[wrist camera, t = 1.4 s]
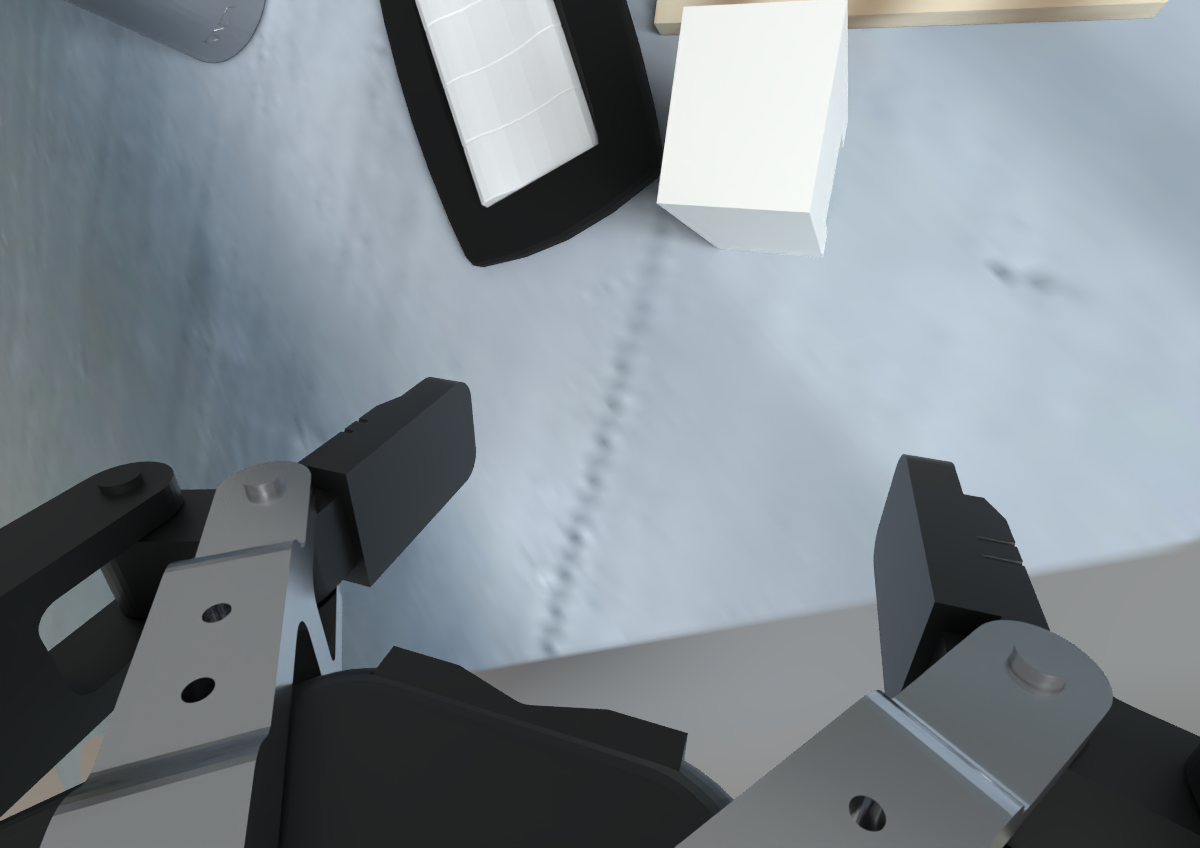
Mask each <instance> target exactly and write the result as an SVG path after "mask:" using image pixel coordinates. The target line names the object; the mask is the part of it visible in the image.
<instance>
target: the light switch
mask: <svg viewBox="0 0 1200 848" xmlns="http://www.w3.org/2000/svg"><path fill="white" fill-rule="evenodd" d="M380 3H381V8H382V13H383V18H384V22H385V26H386V30H387V34H388V38H389V42H390V46H391V50H392V54H393V58H394V61H395V65H396V69H397V73H398V77H399V80H400V84H401V87H402V90H403V94H404V97H405V100H406V104H407V107H408V110H409V113H410V117H411V120H412V123H413V126H414V129H415V132H416V135H417V138H418V141H419V143H420V146H421V149H422V152H423V155H424V158H425V160H426V163H427V166H428V169H429V172H430V174H431V177H432V179H433V181H434V184H435V186H436V189H437V191H438V194H439V196H440V199H441V201H442V204H443V206H444V209H445V211H446V214H447V216H448V219H449V221H450V223H451V225H452V228H453V230H454V232H455V234H456V236H457V238H458V241H459V243H460V245H461V247H462V249H463V251H464V254H465V256H466V257H467V258H468V260H469V261H470V262H471V263H472V264H473V265H474V266H480V267H486V266H490V265H495V264H499V263H503V262H507V261H512V260H516V259H520V258H524V257H527V256H530V255H532V254H535V253H537V252H540V251H542V250H544V249H547V248H549V247H552V246H554V245H557V244H559V243H562V242H564V241H566V240H569V239H570V238H572V237H574V236H575V235H577V234H579V233H580V232H582V231H583V230H585V229H587V228H588V227H590V226H592V225H593V224H595V223H597V222H598V221H600V220H602V219H603V218H605V217H607V216H608V215H610V214H612V213H613V212H614V211H616V210H617V209H618V208H619V207H621V206H622V205H623V204H625V203H626V202H627V201H628V200H630V199H631V198H632V197H634V196H635V195H636V194H637V193H639V192H640V191H641V190H643V189H644V188H645V187H646V186H648V185H649V184H650V183H652V182H653V181H654V180H655V179H657V178H658V177H659V175H660V174H661V168H662V160H663V150H662V144H661V139H660V133H659V128H658V123H657V117H656V112H655V107H654V103H653V99H652V94H651V90H650V86H649V82H648V78H647V74H646V70H645V66H644V62H643V57H642V53H641V49H640V45H639V42H638V38H637V35H636V32H635V28H634V25H633V21H632V18H631V15H630V11H629V8H628V5H627V1H626V0H380Z"/></svg>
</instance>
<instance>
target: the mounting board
mask: <svg viewBox="0 0 1200 848" xmlns="http://www.w3.org/2000/svg"><path fill="white" fill-rule="evenodd" d="M788 1H808V0H657V5H656V12H655V20H654V24H655V26H656V28H657V29H658V31H659V33H660V34H661V35H675V34H680V29H681V22H682V14H683V7H688V6H708V5H728V4H748V3H768V2H788ZM1167 1H1168V0H848V29H849V28H878V27H907V26H936V25H965V24H994V23H1023V22H1052V21H1081V20H1110V19H1139V18H1153V17H1154V16H1155V15H1156V14H1157V13H1158V12H1159V11H1160V10H1161V9H1162V7H1163V6H1164V5H1165V4H1166V3H1167Z"/></svg>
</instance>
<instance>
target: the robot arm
mask: <svg viewBox="0 0 1200 848" xmlns="http://www.w3.org/2000/svg"><path fill="white" fill-rule="evenodd" d="M65 1H67V2H69V3H71V4H74V5H76V6H78V7H80V8H83V9H85V10H87V11H90V12H92V13H94V14H96V15H99V16H101V17H103V18H105V19H108V20H110V21H112V22H115V23H117V24H119V25H121V26H124V27H126V28H128V29H131V30H133V31H135V32H137V33H139V34H141V35H144V36H146V37H148V38H151V39H153V40H155V41H158V42H160V43H162V44H165V45H167V46H169V47H172V48H174V49H176V50H178V51H181V52H183V53H185V54H188V55H190V56H192V57H195V58H197V59H199V60H202V61H204V62H212V63H216V62H221V61H225V60H227V59H229V58H231V57H232V56H234V55H236V54H237V53H238V52H239V51H240V50H241V49H242V48H243V47H244V46H245V45H246V43H247V42H248V41H249V39H250V38H251V36H252V35H253V33H254V31H255V29H256V27H257V25H258V23H259V20H260V17H261V14H262V10H263V7H264V2H265V0H65ZM475 458H476V446H475V436H474V425H473V414H472V403H471V394H470V390H469V388H468V386H467V385H466V384H465V383H463V382H457V381H451V380H445V379H439V378H433V377H428V378H426V379H424V380H423V381H421V382H420V383H418V384H417V385H416V386H414V387H413V388H412V389H410V390H409V391H408V392H406V393H405V394H404V395H402V396H401V397H398V398H395V399H393V400H390V401H388V402H385V403H383V404H380V405H378V406H376V407H375V408H373V409H372V410H370V411H369V412H368V413H366V414H365V415H363V416H362V417H361V418H359V422H358V421H355V422H354V423H352V424H351V425H350V426H348V427H347V428H345V431H344V432H340V433H338V434H337V435H336V436H334V437H333V438H331V439H330V440H329V441H327V442H326V443H325V444H323V445H322V446H320V447H319V448H318V449H316V450H315V451H313V452H312V453H311V454H309V455H308V456H306V457H305V458H304V459H302V460H301V461H300V462H298V463H296V462H291V461H274V462H266V463H261V464H257V465H254V466H251V467H248V468H245V469H243V470H240V471H238V472H236V473H235V474H233V475H231V476H230V477H228V478H227V479H225V480H224V481H223V482H222V483H221V484H220V485H219V487H218V488H217V489H207V490H180V488H179V485H178V482H177V480H176V477H175V474H174V472H173V470H172V468H171V467H170V466H168V465H166V464H164V463H160V462H136V463H129V464H125V465H120V466H117V467H113V468H110V469H108V470H105V471H102V472H100V473H98V474H95V475H93V476H91V477H89V478H88V479H86V480H84V481H82V482H81V483H79V484H77V485H75V486H74V487H72V488H70V489H68V490H67V491H65V492H63V493H62V494H60V495H58V496H56V497H55V498H53V499H51V500H49V501H48V502H46V503H44V504H42V505H41V506H39V507H37V508H35V509H34V510H32V511H30V512H28V513H27V514H25V515H23V516H22V517H20V518H18V519H16V520H15V521H13V522H11V523H9V524H8V525H6V526H4V527H2V528H1V529H0V817H1V816H2V815H3V814H4V813H5V812H6V811H7V810H8V809H10V808H11V807H12V806H13V805H14V804H15V803H16V802H17V801H18V800H19V799H20V798H21V797H22V796H23V795H24V794H25V793H26V792H28V790H30V789H31V788H32V787H33V786H34V785H35V784H36V783H37V782H38V781H39V780H40V779H41V778H42V777H43V776H44V775H45V774H46V773H48V772H49V771H50V770H51V769H52V768H53V767H54V766H55V765H56V764H57V763H58V762H59V761H60V760H61V759H63V758H64V757H65V756H66V755H67V754H68V753H69V752H70V751H71V750H72V749H73V748H74V747H75V746H76V745H77V744H78V743H79V742H81V741H82V740H83V739H84V738H85V737H86V736H87V735H88V734H89V733H90V732H91V731H92V730H93V729H94V728H95V727H96V726H97V725H99V724H100V723H101V722H102V721H103V720H104V719H105V718H106V717H107V716H108V715H109V714H110V713H111V712H112V711H113V710H114V711H113V714H112V716H111V719H110V722H109V725H108V727H107V730H106V733H105V736H104V738H103V741H102V744H101V747H100V749H99V752H98V755H97V757H96V760H95V763H94V766H93V768H92V771H91V773H90V775H89V777H88V779H87V780H86V781H85V782H84V783H81V784H79V785H77V786H75V787H73V788H71V789H68V790H66V791H64V792H62V793H60V794H58V795H56V796H54V797H51V798H49V799H47V800H45V801H43V802H40V803H38V804H36V805H34V806H32V807H30V808H28V809H26V810H23V811H21V812H19V813H17V814H15V815H13V816H10V817H8V818H6V819H4V820H2V821H0V848H1200V737H1199V736H1197V735H1195V734H1193V733H1191V732H1188V731H1186V730H1184V729H1182V728H1179V727H1177V726H1175V725H1173V724H1170V723H1168V722H1166V721H1164V720H1161V719H1159V718H1157V717H1154V716H1152V715H1150V714H1148V713H1145V712H1143V711H1141V710H1139V709H1137V708H1134V707H1132V706H1130V705H1128V704H1126V703H1124V702H1122V701H1120V700H1118V699H1116V698H1115V697H1113V693H1112V688H1111V686H1110V683H1109V681H1108V679H1107V677H1106V676H1105V674H1104V672H1103V671H1102V670H1101V669H1100V667H1099V666H1098V665H1097V664H1096V663H1095V662H1094V661H1093V660H1092V659H1091V658H1090V657H1089V656H1088V655H1087V654H1086V653H1085V652H1083V651H1082V650H1081V649H1079V648H1078V647H1077V646H1075V645H1074V644H1072V643H1071V642H1069V641H1068V640H1066V639H1064V638H1062V637H1060V636H1059V635H1057V634H1055V633H1053V632H1051V631H1050V629H1049V627H1048V624H1047V622H1046V619H1045V617H1044V614H1043V612H1042V609H1041V607H1040V604H1039V601H1038V599H1037V596H1036V594H1035V591H1034V589H1033V586H1032V584H1031V581H1030V579H1029V576H1028V574H1027V571H1026V569H1025V566H1022V562H1023V561H1022V559H1021V556H1020V553H1019V551H1018V548H1017V547H1015V541H1014V538H1013V536H1012V533H1011V531H1010V528H1009V526H1008V523H1007V521H1006V519H1005V518H1004V517H1003V516H1002V515H1001V514H1000V513H999V512H998V511H997V510H996V509H995V508H994V507H993V506H992V505H990V504H989V503H988V502H987V501H986V500H985V499H984V498H981V497H975V496H970V495H964V494H963V492H962V489H961V485H960V482H959V479H958V476H957V473H956V470H955V467H954V464H953V463H952V462H948V461H942V460H936V459H930V458H924V457H918V456H911V455H905V454H903V455H902V456H901V457H900V459H899V461H898V464H897V467H896V470H895V473H894V476H893V480H892V483H891V487H890V490H889V493H888V497H887V500H886V503H885V507H884V510H883V514H882V517H881V520H880V524H879V527H878V531H877V535H876V541H875V548H874V574H875V586H876V597H877V609H878V620H879V631H880V643H881V654H882V665H883V677H884V689H885V693H883V692H882V691H880V690H875V691H873V692H870V693H868V694H867V695H865V696H864V697H862V698H861V699H860V700H858V701H857V702H856V703H855V704H853V705H852V706H851V707H850V708H848V709H847V710H846V711H845V712H843V713H842V714H841V715H840V716H839V717H837V718H836V719H835V720H833V721H832V722H831V723H830V724H828V725H827V726H826V727H825V728H823V729H822V730H821V731H820V732H818V733H817V734H816V735H815V736H813V737H812V738H811V739H810V740H808V741H807V742H806V743H805V744H803V745H802V746H801V747H800V748H798V749H797V750H796V751H795V752H793V753H792V754H791V755H790V756H789V757H787V758H786V759H785V760H783V761H782V762H781V763H780V764H778V765H777V766H776V767H775V768H773V769H772V770H771V771H770V772H768V773H767V774H766V775H765V776H764V777H762V778H761V779H760V780H758V781H757V782H756V783H755V784H753V785H752V786H751V787H750V788H748V789H747V790H746V791H745V792H743V793H742V794H741V795H740V796H738V797H737V798H736V799H735V800H734V799H732V798H731V797H730V796H729V795H728V794H727V793H726V792H725V791H724V790H723V789H722V788H721V787H720V786H719V785H718V784H717V783H716V782H714V781H713V780H712V779H710V778H709V777H708V776H706V775H705V774H704V773H703V772H701V771H700V770H699V769H697V768H695V767H694V766H692V765H691V764H689V763H687V762H686V761H684V757H685V750H686V742H687V735H688V733H685V732H682V731H678V730H675V729H671V728H668V727H665V726H661V725H658V724H655V723H651V722H648V721H645V720H641V719H638V718H635V717H631V716H628V715H624V714H621V713H617V712H614V711H611V710H605V709H587V708H570V707H553V706H534V705H526V704H522V703H519V702H517V701H515V700H514V699H512V698H511V697H509V696H507V695H506V694H504V693H503V692H501V691H499V690H498V689H496V688H494V687H493V686H491V685H490V684H488V683H487V682H485V681H483V680H482V679H480V678H479V677H477V676H475V675H474V674H472V673H471V672H469V671H467V670H466V669H464V668H463V667H461V666H459V665H456V664H453V663H450V662H446V661H443V660H440V659H436V658H433V657H429V656H426V655H423V654H419V653H416V652H413V651H409V650H406V649H403V648H399V647H396V646H393V648H392V649H391V650H390V652H389V653H388V654H387V656H386V657H385V658H384V659H383V661H382V662H381V663H380V665H379V666H378V667H377V668H363V669H350V670H344V671H342V597H341V593H340V589H339V584H340V583H341V581H342V580H346V581H350V582H353V583H357V584H361V585H364V586H368V587H371V586H372V585H373V584H374V583H375V581H376V580H377V579H378V578H379V577H380V576H381V575H382V574H383V573H384V572H385V570H386V569H387V568H388V567H389V566H390V565H391V564H392V563H393V562H394V560H395V559H396V558H397V557H398V556H399V555H400V554H401V553H402V552H403V551H404V549H405V548H406V547H407V546H408V545H409V544H410V543H411V542H412V541H413V540H414V538H415V537H416V536H417V535H418V534H419V533H420V532H421V531H422V530H423V529H424V527H425V526H426V525H427V524H428V523H429V522H430V521H431V520H432V519H433V517H434V516H435V515H436V514H437V513H438V512H439V511H440V510H441V509H442V508H443V506H444V505H445V504H446V503H447V502H448V501H449V500H450V499H451V498H452V497H453V495H454V494H455V493H456V492H457V491H458V490H459V489H460V488H461V487H462V485H463V484H464V483H465V482H466V481H467V480H468V478H469V477H470V475H471V473H472V470H473V467H474V464H475ZM100 568H101V571H102V573H103V575H104V577H105V579H106V581H107V583H108V585H109V587H110V589H111V591H112V593H113V595H114V597H115V600H114V601H113V602H111V603H110V604H109V605H107V606H106V607H105V608H104V609H102V610H101V611H100V612H98V613H97V614H96V615H95V616H93V617H92V618H91V619H89V620H88V621H87V622H86V623H84V624H83V625H82V626H80V627H79V628H78V629H77V630H75V631H74V632H73V633H72V634H70V635H69V636H68V637H66V638H65V639H64V640H63V641H61V642H60V643H59V644H57V645H56V646H55V647H54V648H52V649H51V650H50V651H47V649H46V647H45V645H44V644H43V642H42V640H41V639H40V636H39V632H38V629H39V623H40V620H41V617H42V615H43V614H44V612H45V611H46V609H47V608H48V607H49V606H50V605H51V604H52V603H53V602H54V601H55V600H56V599H58V598H59V597H61V596H62V595H63V594H65V593H66V592H68V591H69V590H70V589H72V588H73V587H75V586H76V585H77V584H79V583H80V582H82V581H83V580H84V579H86V578H87V577H89V576H90V575H91V574H93V573H94V572H96V571H97V570H98V569H100Z"/></svg>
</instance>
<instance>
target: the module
mask: <svg viewBox="0 0 1200 848" xmlns="http://www.w3.org/2000/svg"><path fill="white" fill-rule="evenodd" d="M847 123H848V0H808V1H788V2H768V3H748V4H728V5H708V6H688V7H683V14H682V22H681V29H680V36H679V43H678V51H677V58H676V65H675V73H674V80H673V87H672V95H671V102H670V109H669V116H668V124H667V131H666V138H665V146H664V153H663V160H662V168H661V175H660V182H659V190H658V197H657V204H658V205H660V206H661V207H662V208H664V209H665V210H667V211H668V212H669V213H671V214H672V215H673V216H675V217H676V218H677V219H679V220H680V221H681V222H683V223H684V224H685V225H687V226H688V227H690V228H691V229H692V230H694V231H695V232H696V233H698V234H699V235H700V236H702V237H703V238H704V239H706V240H707V241H709V242H710V243H711V244H713V245H714V246H715V247H717V248H718V249H724V250H736V251H748V252H760V253H771V254H783V255H795V256H806V257H818V258H823V254H824V248H825V243H826V238H827V226H826V218H827V213H828V207H829V202H830V196H831V191H832V186H833V180H834V175H835V169H836V164H837V158H838V153H839V149H843V145H844V140H845V134H846V129H847Z"/></svg>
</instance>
